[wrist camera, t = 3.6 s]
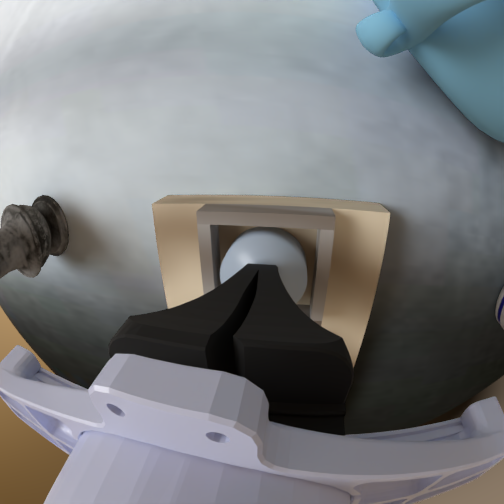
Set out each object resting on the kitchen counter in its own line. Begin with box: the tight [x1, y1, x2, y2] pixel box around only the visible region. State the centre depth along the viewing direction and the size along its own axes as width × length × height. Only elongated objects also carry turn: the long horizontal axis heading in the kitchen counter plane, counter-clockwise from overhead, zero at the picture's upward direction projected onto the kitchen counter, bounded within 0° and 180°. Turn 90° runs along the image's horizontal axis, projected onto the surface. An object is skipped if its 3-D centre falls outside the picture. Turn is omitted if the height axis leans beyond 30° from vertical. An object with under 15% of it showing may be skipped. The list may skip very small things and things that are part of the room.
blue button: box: [220, 226, 307, 303], centre depth 13 cm, size 4×4×2 cm
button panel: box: [152, 195, 390, 368], centre depth 17 cm, size 20×12×3 cm, turn 0°
